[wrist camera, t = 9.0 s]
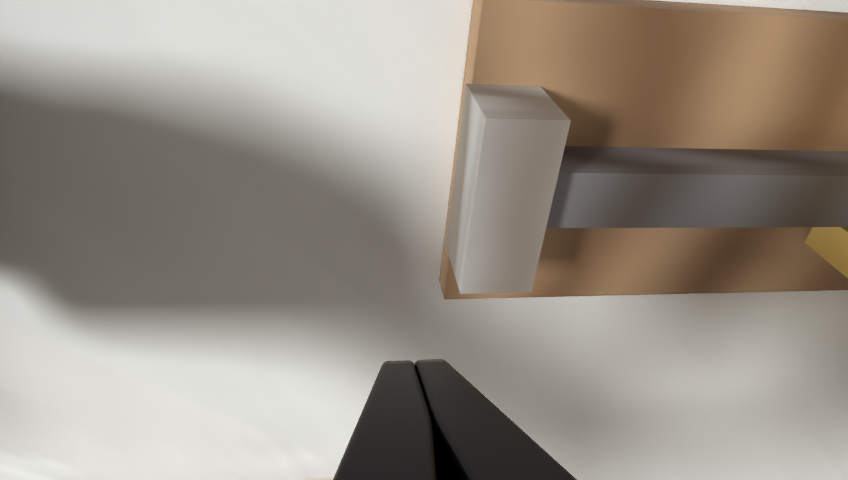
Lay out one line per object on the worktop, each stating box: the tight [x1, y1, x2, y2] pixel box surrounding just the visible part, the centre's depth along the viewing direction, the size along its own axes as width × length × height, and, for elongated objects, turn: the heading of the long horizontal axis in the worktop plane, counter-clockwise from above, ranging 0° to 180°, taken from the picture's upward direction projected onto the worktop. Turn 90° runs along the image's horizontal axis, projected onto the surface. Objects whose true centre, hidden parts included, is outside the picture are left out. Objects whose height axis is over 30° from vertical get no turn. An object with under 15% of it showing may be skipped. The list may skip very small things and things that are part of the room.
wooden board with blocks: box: [439, 0, 848, 299], centre depth 20 cm, size 23×11×7 cm, turn 85°
